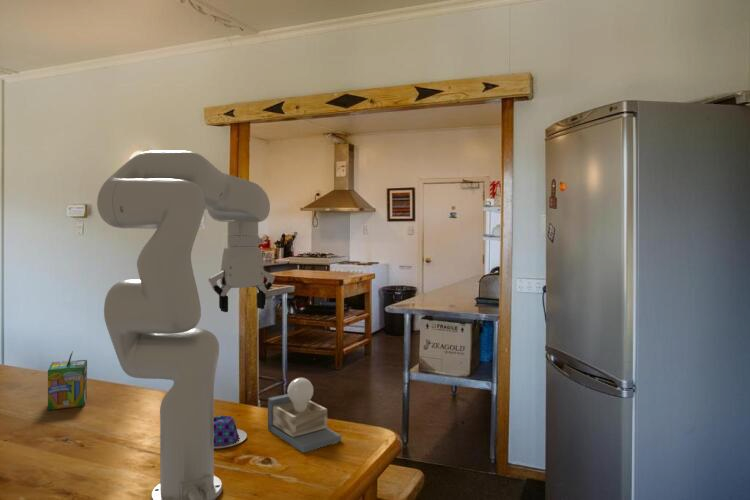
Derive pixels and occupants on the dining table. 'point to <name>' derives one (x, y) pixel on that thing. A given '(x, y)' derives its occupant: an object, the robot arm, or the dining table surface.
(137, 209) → the robot arm
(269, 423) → the base
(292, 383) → the lightbulb
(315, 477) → the dining table surface
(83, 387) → the chalk box
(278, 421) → the box
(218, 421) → the pudding
